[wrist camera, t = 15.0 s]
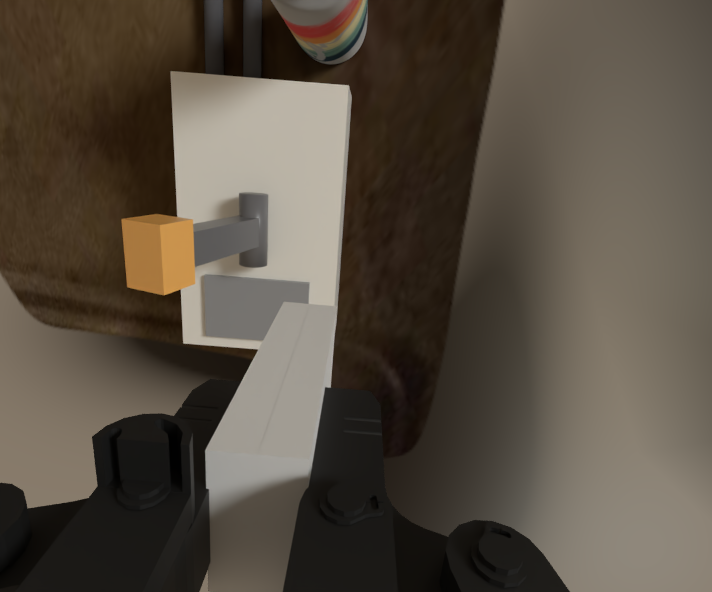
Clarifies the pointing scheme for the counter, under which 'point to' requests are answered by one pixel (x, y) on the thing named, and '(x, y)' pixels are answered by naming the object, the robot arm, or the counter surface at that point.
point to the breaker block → (261, 175)
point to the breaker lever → (192, 245)
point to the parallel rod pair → (250, 37)
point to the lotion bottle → (326, 26)
